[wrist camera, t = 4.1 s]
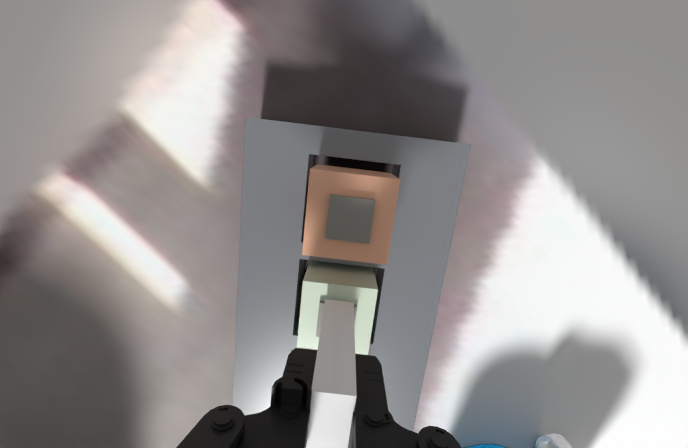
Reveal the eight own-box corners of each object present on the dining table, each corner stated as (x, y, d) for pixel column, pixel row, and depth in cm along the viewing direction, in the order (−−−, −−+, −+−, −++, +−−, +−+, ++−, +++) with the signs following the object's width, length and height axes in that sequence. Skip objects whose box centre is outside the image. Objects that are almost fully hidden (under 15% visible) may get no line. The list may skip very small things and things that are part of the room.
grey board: (241, 458, 26) (228, 498, 23) (260, 121, 20) (245, 116, 17) (390, 474, 26) (395, 515, 23) (453, 144, 20) (470, 144, 17)
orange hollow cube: (310, 234, 19) (301, 257, 15) (317, 164, 18) (308, 169, 14) (379, 242, 19) (387, 266, 15) (390, 172, 18) (401, 180, 14)
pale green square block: (305, 314, 22) (295, 350, 18) (310, 257, 21) (302, 283, 17) (364, 320, 22) (368, 358, 18) (372, 264, 21) (378, 291, 17)
